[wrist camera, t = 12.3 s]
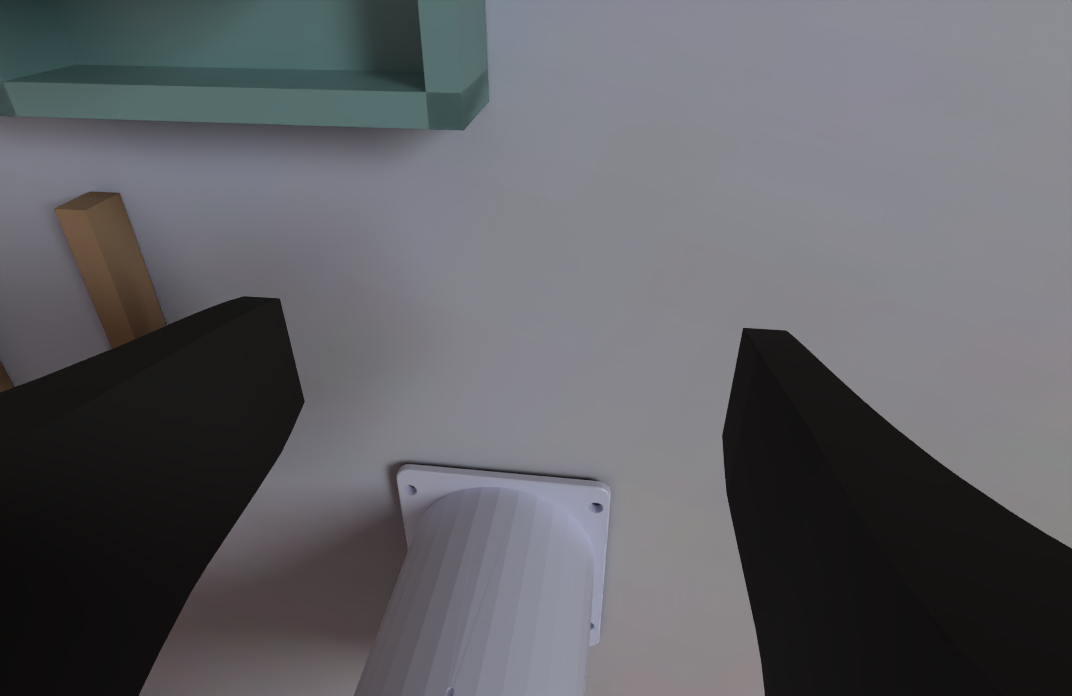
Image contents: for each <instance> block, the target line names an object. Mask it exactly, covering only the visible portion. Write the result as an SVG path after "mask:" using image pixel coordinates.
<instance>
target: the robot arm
mask: <svg viewBox="0 0 1072 696" xmlns="http://www.w3.org/2000/svg"><path fill="white" fill-rule="evenodd" d="M304 402H305V401H304V397H303V393H302V389H301V385H300V381H299V377H298V372H297V368H296V364H295V360H294V356H293V352H292V348H291V343H290V339H289V335H288V331H287V327H286V323H285V318H284V314H283V310H282V306H281V302H280V299H277V298H261V297H245V296H244V297H240V298H237V299H233V300H230V301H227V302H224V303H221V304H218V305H216V306H213V307H210V308H208V309H205V310H203V311H200V312H198V313H195V314H193V315H191V316H188V317H186V318H183V319H181V320H179V321H176V322H174V323H172V324H169V325H167V326H165V327H162V328H160V329H158V330H155V331H153V332H151V333H148V334H146V335H144V336H141V337H139V338H137V339H134V340H132V341H130V342H127V343H125V344H123V345H120V346H118V347H116V348H113V349H111V350H109V351H106V352H104V353H101V354H99V355H96V356H94V357H91V358H89V359H86V360H84V361H81V362H79V363H76V364H74V365H71V366H69V367H66V368H64V369H61V370H59V371H56V372H54V373H51V374H49V375H46V376H44V377H41V378H39V379H36V380H33V381H31V382H28V383H25V384H22V385H20V386H17V387H14V388H11V389H8V390H6V391H3V392H0V696H138V695H139V693H140V691H141V689H142V687H143V685H144V683H145V681H146V679H147V677H148V675H149V673H150V671H151V669H152V666H153V664H154V662H155V660H156V658H157V656H158V654H159V652H160V650H161V648H162V646H163V644H164V642H165V641H166V639H167V637H168V635H169V633H170V631H171V629H172V627H173V625H174V623H175V621H176V620H177V618H178V616H179V614H180V612H181V610H182V608H183V606H184V604H185V602H186V600H187V598H188V597H189V595H190V593H191V591H192V590H193V588H194V586H195V585H196V583H197V581H198V580H199V578H200V576H201V575H202V573H203V571H204V570H205V568H206V567H207V565H208V564H209V562H210V561H211V559H212V557H213V556H214V554H215V553H216V551H217V550H218V548H219V547H220V545H221V544H222V542H223V541H224V539H225V538H226V536H227V535H228V533H229V532H230V530H231V529H232V527H233V526H234V524H235V523H236V521H237V520H238V518H239V517H240V515H241V514H242V512H243V511H244V509H245V508H246V506H247V505H248V503H249V502H250V500H251V499H252V497H253V496H254V494H255V493H256V491H257V490H258V488H259V487H260V485H261V484H262V482H263V481H264V479H265V477H266V476H267V474H268V473H269V471H270V470H271V468H272V467H273V465H274V463H275V462H276V460H277V459H278V457H279V455H280V454H281V452H282V450H283V448H284V446H285V444H286V442H287V440H288V438H289V436H290V434H291V432H292V430H293V427H294V425H295V423H296V420H297V418H298V416H299V413H300V411H301V409H302V407H303V404H304ZM722 438H723V453H724V468H725V479H726V491H727V497H728V502H729V507H730V512H731V517H732V521H733V526H734V531H735V536H736V540H737V545H738V550H739V554H740V559H741V563H742V568H743V573H744V577H745V582H746V587H747V591H748V596H749V600H750V605H751V610H752V614H753V619H754V623H755V628H756V634H757V639H758V645H759V651H760V657H761V663H762V672H763V681H764V690H765V696H1072V549H1071V548H1070V547H1068V546H1066V545H1065V544H1063V543H1061V542H1059V541H1058V540H1056V539H1054V538H1053V537H1051V536H1049V535H1047V534H1046V533H1044V532H1042V531H1041V530H1039V529H1038V528H1036V527H1034V526H1033V525H1031V524H1030V523H1028V522H1026V521H1025V520H1023V519H1022V518H1020V517H1018V516H1017V515H1015V514H1014V513H1012V512H1010V511H1009V510H1008V509H1006V508H1005V507H1003V506H1002V505H1000V504H999V503H997V502H996V501H994V500H993V499H991V498H990V497H988V496H987V495H985V494H984V493H982V492H981V491H979V490H978V489H976V488H975V487H973V486H972V485H970V484H969V483H967V482H966V481H965V480H963V479H962V478H960V477H959V476H957V475H956V474H955V473H953V472H952V471H950V470H949V469H948V468H946V467H945V466H944V465H942V464H941V463H939V462H938V461H937V460H935V459H934V458H933V457H932V456H930V455H929V454H928V453H926V452H925V451H924V450H923V449H921V448H920V447H919V446H918V445H916V444H915V443H914V442H912V441H911V440H910V439H909V438H907V437H906V436H905V435H904V434H902V433H901V432H900V431H898V430H897V429H896V428H895V427H894V426H892V425H891V424H890V423H889V422H888V421H886V420H885V419H884V418H883V417H882V416H880V415H879V414H878V413H877V412H876V411H875V410H873V409H872V408H871V407H870V406H869V405H868V404H867V403H865V402H864V401H863V400H862V399H861V398H860V397H859V396H858V395H856V394H855V393H854V392H853V391H852V390H851V389H850V388H849V387H848V386H846V385H845V384H844V383H843V382H842V381H841V380H840V379H839V378H838V377H837V376H836V375H834V374H833V373H832V372H831V371H830V370H829V369H828V368H827V367H826V366H825V365H824V364H823V363H822V362H821V361H819V360H818V359H817V358H816V357H815V356H814V355H813V354H812V353H811V352H810V351H809V350H808V349H807V348H806V347H805V346H803V345H802V344H801V343H800V342H799V341H798V340H797V339H796V338H795V337H793V336H792V335H791V334H790V333H789V332H787V331H784V330H768V329H752V328H743V332H742V337H741V342H740V347H739V352H738V358H737V363H736V368H735V373H734V378H733V383H732V389H731V394H730V399H729V404H728V409H727V414H726V419H725V425H724V430H723V435H722ZM396 480H397V486H398V492H399V499H400V505H401V511H402V517H403V524H404V530H405V536H406V542H407V549H408V552H407V554H406V557H405V560H404V563H403V565H402V568H401V571H400V573H399V576H398V579H397V581H396V584H395V587H394V589H393V592H392V595H391V597H390V600H389V603H388V605H387V608H386V611H385V613H384V616H383V619H382V621H381V624H380V627H379V629H378V632H377V635H376V638H375V640H374V643H373V646H372V648H371V651H370V654H369V656H368V659H367V662H366V664H365V667H364V670H363V672H362V675H361V678H360V680H359V683H358V686H357V688H356V691H355V694H354V696H586V683H587V668H588V654H589V646H594V645H596V644H597V643H598V642H599V635H600V623H601V610H602V598H603V585H604V573H605V560H606V548H607V536H608V523H609V511H610V498H611V491H610V488H609V487H608V485H606V484H605V483H603V482H599V481H591V480H580V479H569V478H558V477H547V476H536V475H525V474H514V473H503V472H492V471H481V470H470V469H459V468H448V467H437V466H426V465H415V464H405V465H403V466H401V467H400V469H399V471H398V473H397V476H396ZM409 485H411V486H414V487H415V488H413V487H410V486H409ZM592 503H599V504H600V505H594V504H592Z"/></svg>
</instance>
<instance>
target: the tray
mask: <svg viewBox="0 0 1072 696" xmlns="http://www.w3.org/2000/svg"><path fill="white" fill-rule="evenodd" d="M488 102H489V90H488V65H487V39H486V14H485V0H0V116H22V117H54V118H86V119H118V120H150V121H181V122H213V123H245V124H277V125H309V126H341V127H373V128H404V129H436V130H464V129H465V128H466V127H467V126H468V125H469V124H470V122H471V121H472V120H473V119H474V118H475V117H476V116H477V114H478V113H479V112H480V111H481V110H482V109H483V108H484V107H485V105H486V104H487V103H488Z"/></svg>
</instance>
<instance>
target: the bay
mask: <svg viewBox="0 0 1072 696" xmlns="http://www.w3.org/2000/svg"><path fill="white" fill-rule="evenodd" d="M54 210H55V213H56V215H57V217H58V220H59V222H60V225H61V227H62V229H63V232H64V234H65V237H66V239H67V241H68V244H69V246H70V249H71V251H72V253H73V256H74V258H75V261H76V263H77V265H78V268H79V270H80V273H81V275H82V278H83V280H84V282H85V285H86V287H87V290H88V292H89V294H90V297H91V299H92V302H93V304H94V306H95V309H96V311H97V314H98V316H99V318H100V321H101V323H102V326H103V328H104V330H105V333H106V335H107V338H108V340H109V342H110V345H111V347H112V349H113V348H116V347H118V346H120V345H123V344H125V343H127V342H130V341H132V340H134V339H137V338H139V337H141V336H144V335H146V334H148V333H151V332H153V331H155V330H158V329H160V328H162V327H165V326H167V325H166V323H165V320H164V317H163V314H162V311H161V309H160V306H159V303H158V300H157V297H156V294H155V292H154V289H153V286H152V283H151V280H150V278H149V275H148V272H147V269H146V266H145V263H144V261H143V258H142V255H141V252H140V249H139V247H138V244H137V241H136V238H135V235H134V232H133V230H132V227H131V224H130V221H129V218H128V216H127V213H126V210H125V207H124V204H123V201H122V199H121V196H120V193H107V192H88V193H86V194H84V195H82V196H80V197H78V198H76V199H74V200H72V201H69V202H67V203H65V204H63V205H61V206H59V207H57V208H55V209H54ZM11 388H14V387H13V385H12V383H11V381H10V379H9V377H8V375H7V373H6V372H5V370H4V368H3V366H2V364H1V362H0V392H3V391H6V390H8V389H11Z"/></svg>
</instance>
